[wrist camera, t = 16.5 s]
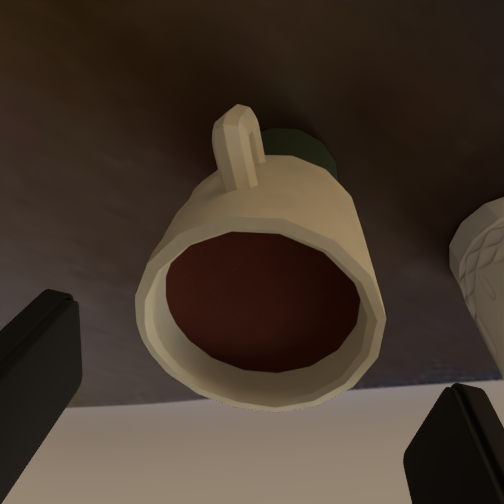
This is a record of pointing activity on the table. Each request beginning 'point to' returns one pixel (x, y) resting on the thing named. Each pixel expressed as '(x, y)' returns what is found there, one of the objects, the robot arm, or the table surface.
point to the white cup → (483, 273)
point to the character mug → (263, 277)
